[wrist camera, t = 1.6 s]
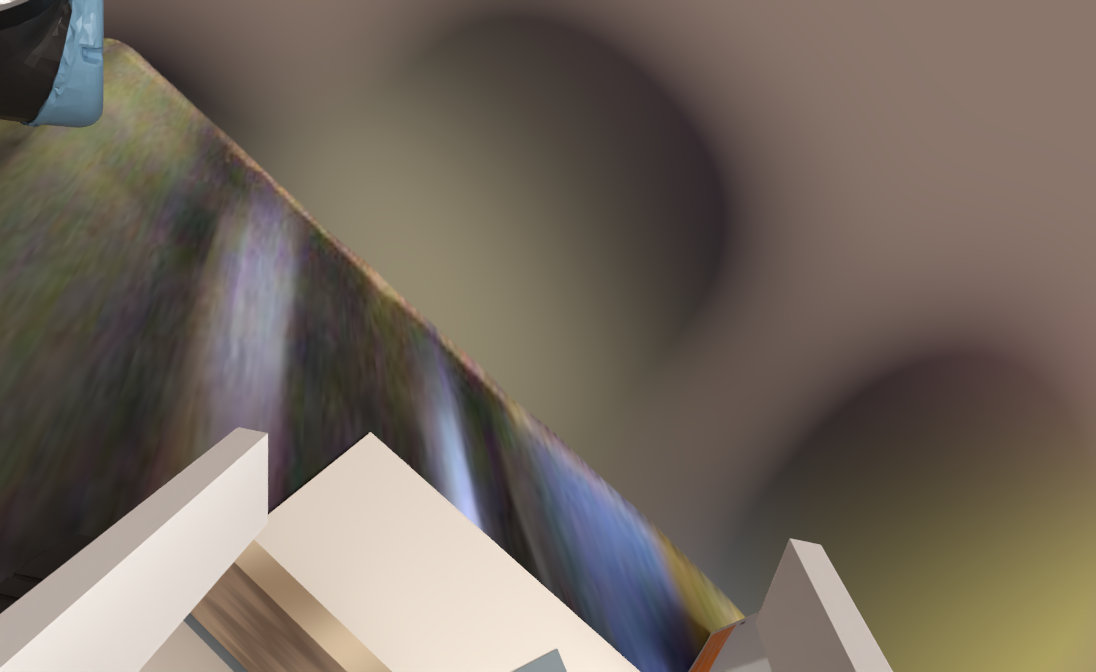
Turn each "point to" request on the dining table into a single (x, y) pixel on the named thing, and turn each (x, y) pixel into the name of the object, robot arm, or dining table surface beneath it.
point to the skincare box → (733, 649)
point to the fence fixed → (277, 621)
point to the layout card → (407, 581)
